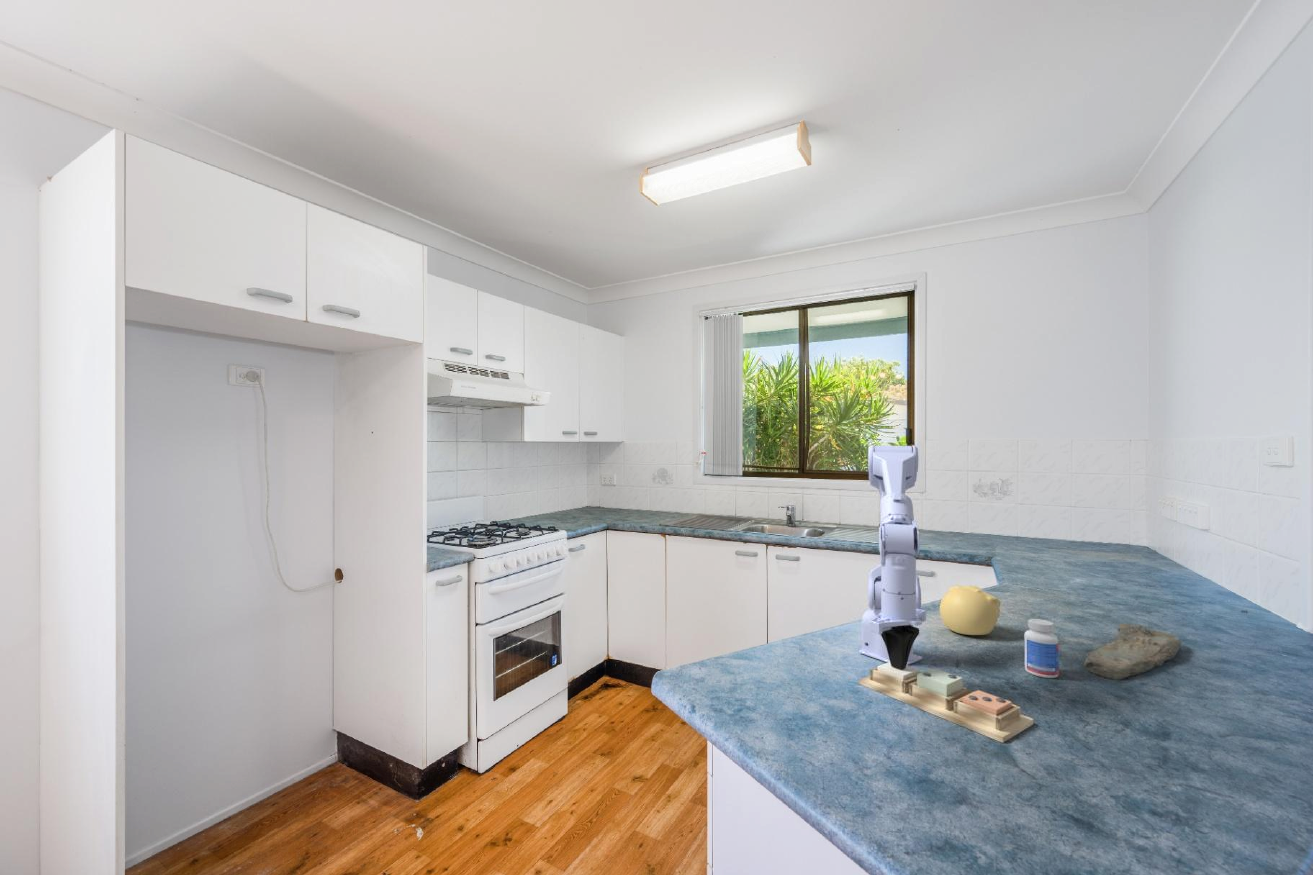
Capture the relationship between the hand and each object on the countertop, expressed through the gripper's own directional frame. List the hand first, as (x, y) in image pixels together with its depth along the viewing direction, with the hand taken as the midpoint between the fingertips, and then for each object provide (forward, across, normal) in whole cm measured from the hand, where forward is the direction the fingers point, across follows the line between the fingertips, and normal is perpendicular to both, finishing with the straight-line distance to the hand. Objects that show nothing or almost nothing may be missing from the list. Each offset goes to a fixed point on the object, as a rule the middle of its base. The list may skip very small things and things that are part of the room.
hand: (898, 667), depth 99 cm
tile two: (+1, 0, -8) cm, 8 cm away
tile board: (+3, 0, -8) cm, 8 cm away
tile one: (+2, 0, 0) cm, 2 cm away
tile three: (+3, 0, -15) cm, 15 cm away
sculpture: (+4, +42, +8) cm, 43 cm away
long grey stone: (+4, +54, -19) cm, 57 cm away
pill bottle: (+4, +29, -12) cm, 31 cm away
